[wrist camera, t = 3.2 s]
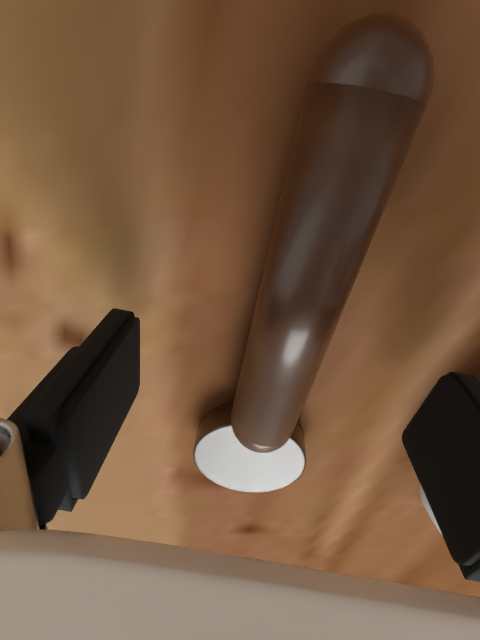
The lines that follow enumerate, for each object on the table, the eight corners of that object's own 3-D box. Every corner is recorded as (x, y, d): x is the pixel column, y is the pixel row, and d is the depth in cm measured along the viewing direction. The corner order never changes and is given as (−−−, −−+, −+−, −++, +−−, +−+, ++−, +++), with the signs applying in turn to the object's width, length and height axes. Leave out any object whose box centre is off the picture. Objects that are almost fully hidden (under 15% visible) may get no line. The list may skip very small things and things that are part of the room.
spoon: (262, 8, 7) (259, -41, 5) (478, 55, 7) (567, 26, 5) (193, 459, 15) (182, 510, 13) (288, 476, 16) (291, 529, 14)
